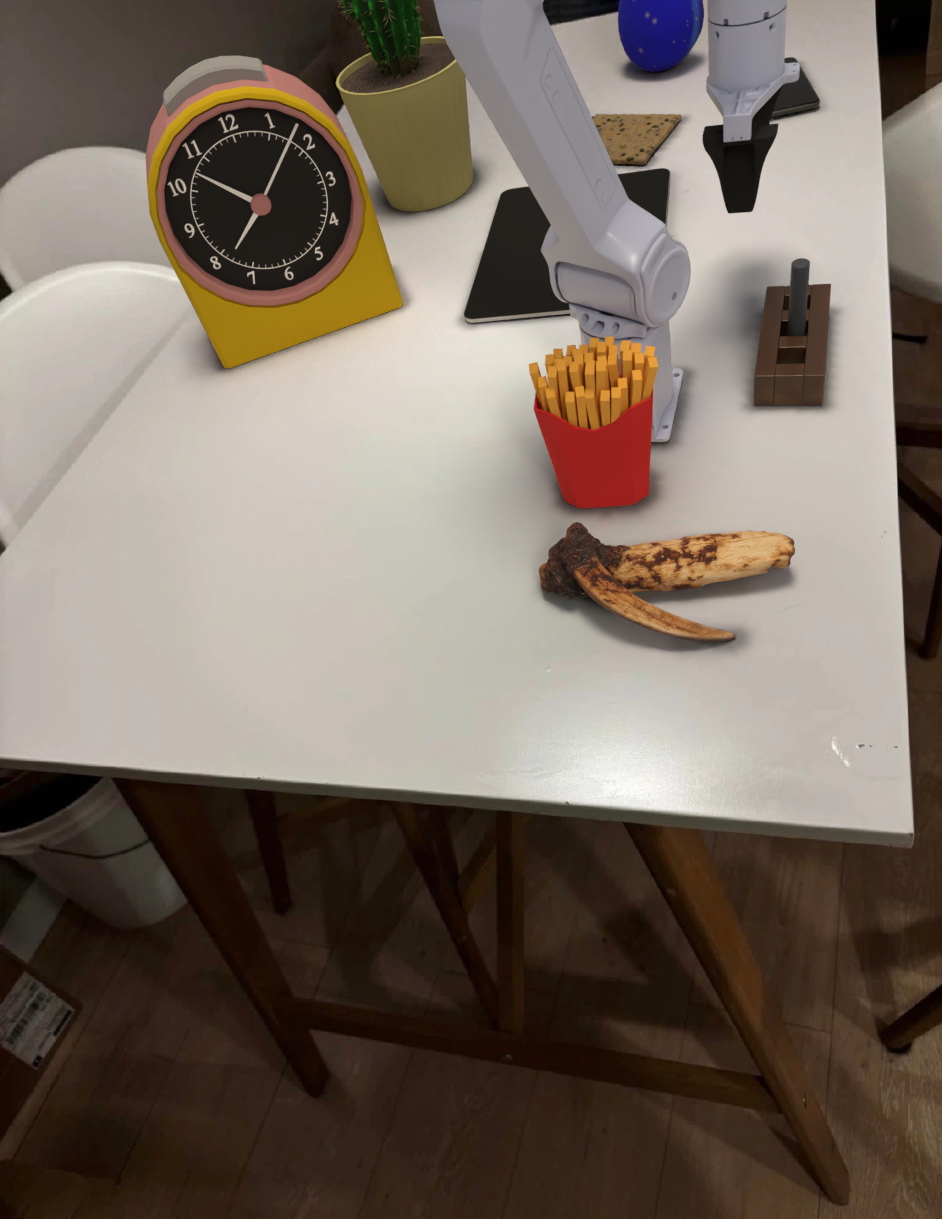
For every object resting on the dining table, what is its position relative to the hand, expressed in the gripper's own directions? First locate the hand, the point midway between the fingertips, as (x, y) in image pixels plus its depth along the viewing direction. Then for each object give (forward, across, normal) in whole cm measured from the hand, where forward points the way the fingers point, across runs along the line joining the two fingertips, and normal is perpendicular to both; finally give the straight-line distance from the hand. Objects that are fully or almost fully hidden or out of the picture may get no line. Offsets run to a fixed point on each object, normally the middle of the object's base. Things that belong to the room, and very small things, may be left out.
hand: (744, 187), depth 77 cm
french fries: (+11, -27, +8) cm, 30 cm away
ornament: (+11, +56, +16) cm, 59 cm away
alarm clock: (+11, -1, +47) cm, 48 cm away
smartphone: (+10, +44, 0) cm, 45 cm away
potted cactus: (+11, +27, +41) cm, 50 cm away
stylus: (+10, -10, -5) cm, 15 cm away
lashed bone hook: (+11, -38, +2) cm, 40 cm away
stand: (+10, -10, -5) cm, 15 cm away
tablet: (+10, +11, +19) cm, 24 cm away
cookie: (+10, +35, +18) cm, 41 cm away
